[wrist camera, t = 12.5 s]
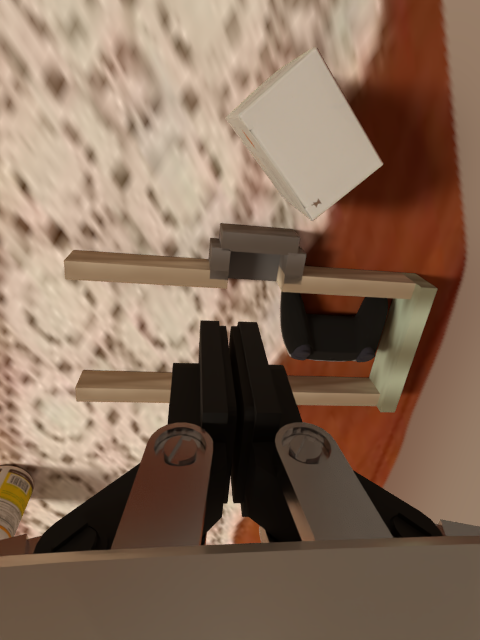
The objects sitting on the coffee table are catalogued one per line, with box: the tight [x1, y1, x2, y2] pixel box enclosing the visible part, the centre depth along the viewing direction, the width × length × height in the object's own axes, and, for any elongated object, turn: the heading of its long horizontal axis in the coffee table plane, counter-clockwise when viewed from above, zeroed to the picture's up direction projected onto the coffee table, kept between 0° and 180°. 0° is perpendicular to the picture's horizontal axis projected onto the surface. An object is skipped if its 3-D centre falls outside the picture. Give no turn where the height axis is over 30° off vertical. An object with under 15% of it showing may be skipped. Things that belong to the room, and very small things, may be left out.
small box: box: [226, 47, 383, 221], centre depth 28 cm, size 8×6×10 cm
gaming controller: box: [280, 291, 388, 362], centre depth 39 cm, size 11×4×7 cm
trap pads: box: [228, 251, 280, 281], centre depth 40 cm, size 18×5×1 cm, turn 174°
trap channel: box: [64, 223, 438, 412], centre depth 39 cm, size 21×33×4 cm, turn 84°
